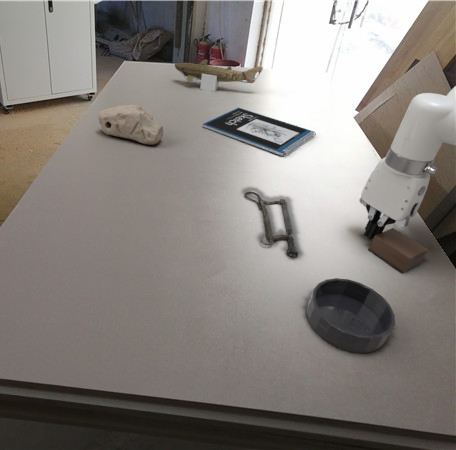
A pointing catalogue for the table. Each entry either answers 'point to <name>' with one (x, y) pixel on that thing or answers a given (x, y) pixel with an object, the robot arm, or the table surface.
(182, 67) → the wood carving
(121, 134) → the decorative stone
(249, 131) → the sketchbook
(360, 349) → the pan
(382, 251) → the block
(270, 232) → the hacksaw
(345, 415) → the table surface
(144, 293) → the table surface
